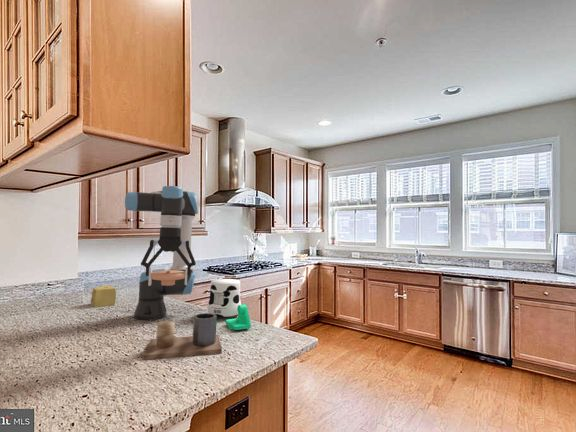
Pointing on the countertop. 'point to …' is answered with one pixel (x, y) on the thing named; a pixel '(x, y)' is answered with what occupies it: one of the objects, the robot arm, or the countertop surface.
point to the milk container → (224, 298)
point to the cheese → (103, 296)
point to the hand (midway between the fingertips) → (168, 284)
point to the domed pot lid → (168, 276)
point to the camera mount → (240, 319)
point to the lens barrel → (204, 329)
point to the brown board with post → (176, 344)
